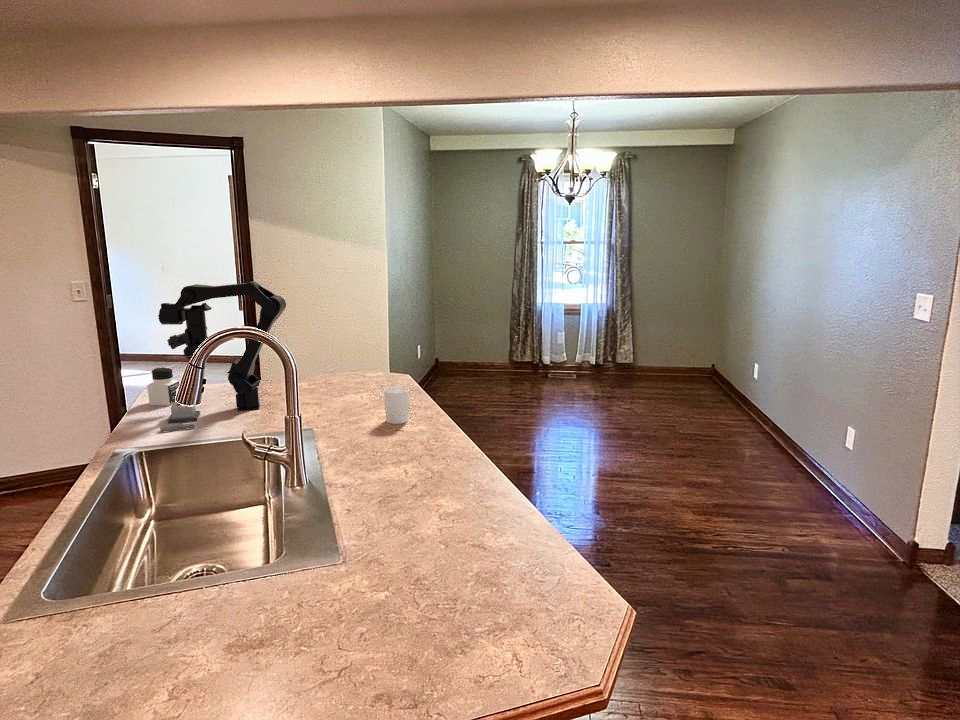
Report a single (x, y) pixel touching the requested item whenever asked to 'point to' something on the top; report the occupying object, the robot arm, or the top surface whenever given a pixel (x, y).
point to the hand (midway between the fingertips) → (200, 372)
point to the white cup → (396, 404)
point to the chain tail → (177, 427)
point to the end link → (182, 411)
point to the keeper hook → (184, 418)
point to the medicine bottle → (162, 387)
